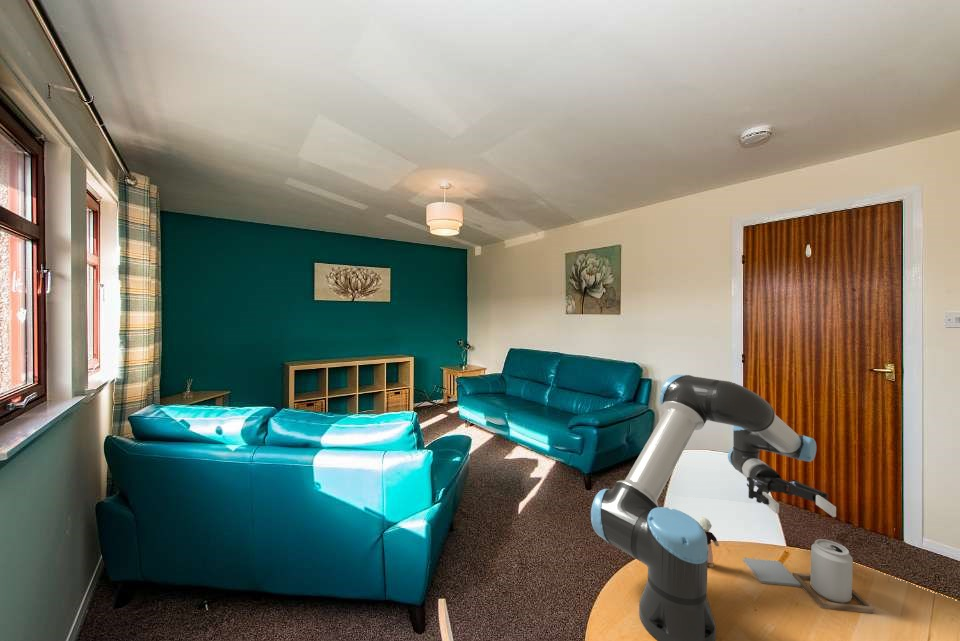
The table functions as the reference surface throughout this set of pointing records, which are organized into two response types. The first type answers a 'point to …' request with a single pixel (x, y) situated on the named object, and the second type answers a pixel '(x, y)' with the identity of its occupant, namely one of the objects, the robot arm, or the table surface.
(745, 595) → the table surface
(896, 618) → the table surface
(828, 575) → the can
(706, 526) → the grandmother figurine
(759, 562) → the coaster
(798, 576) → the brown square frame
